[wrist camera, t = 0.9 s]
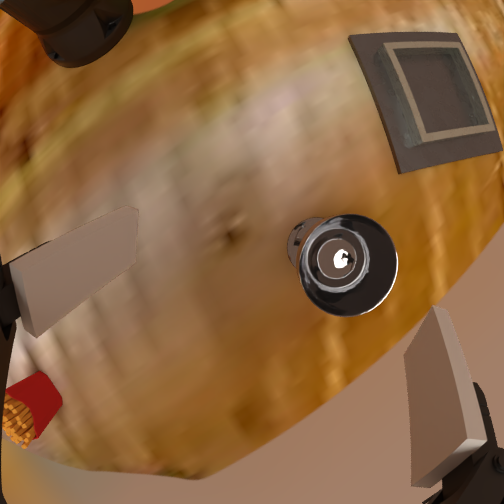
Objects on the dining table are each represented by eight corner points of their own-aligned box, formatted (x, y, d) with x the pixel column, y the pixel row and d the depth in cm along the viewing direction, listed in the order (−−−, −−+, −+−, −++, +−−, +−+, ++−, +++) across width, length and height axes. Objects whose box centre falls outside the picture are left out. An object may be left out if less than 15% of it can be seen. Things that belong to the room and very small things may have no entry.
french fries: (69, 407, 42) (30, 449, 29) (55, 412, 42) (17, 452, 30) (38, 361, 41) (-9, 395, 28) (26, 368, 42) (-20, 401, 29)
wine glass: (359, 255, 38) (413, 277, 23) (307, 292, 39) (334, 336, 24) (324, 201, 38) (364, 192, 23) (270, 239, 38) (277, 254, 23)
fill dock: (347, 38, 35) (354, 26, 32) (454, 35, 34) (464, 26, 30) (398, 174, 37) (410, 170, 34) (499, 151, 36) (513, 148, 32)
